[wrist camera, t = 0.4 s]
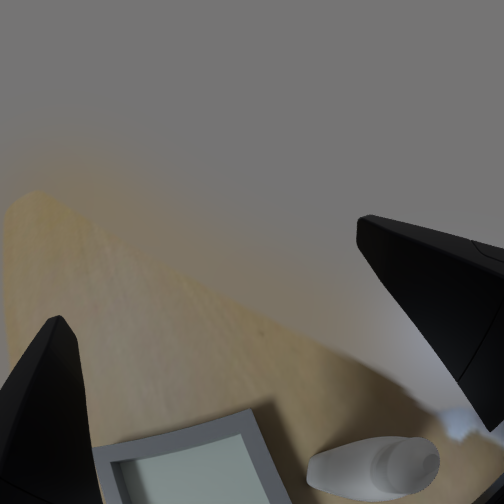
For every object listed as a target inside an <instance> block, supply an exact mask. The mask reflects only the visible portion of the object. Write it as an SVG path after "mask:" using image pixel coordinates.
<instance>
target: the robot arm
mask: <svg viewBox="0 0 504 504" xmlns="http://www.w3.org/2000/svg"><path fill="white" fill-rule="evenodd" d="M356 242H357V246H358V248H359V250H360V251H361V253H362V254H363V256H364V257H365V259H366V260H367V262H368V263H369V264H370V266H371V268H372V269H373V271H374V272H375V273H376V275H377V276H378V278H379V279H380V281H381V282H382V283H383V285H384V286H385V288H386V289H387V290H388V291H389V293H390V294H391V295H392V296H393V298H394V299H395V300H396V301H397V303H398V304H399V305H400V306H401V308H402V309H403V310H404V312H405V313H406V314H407V315H408V317H409V318H410V319H411V321H412V322H413V323H414V324H415V326H416V327H417V328H418V330H419V331H420V332H421V334H422V335H423V336H424V338H425V339H426V340H427V342H428V343H429V344H430V346H431V347H432V348H433V349H434V351H435V352H436V354H437V355H438V357H439V358H440V359H441V361H442V362H443V364H444V365H445V366H446V368H447V369H448V371H449V372H450V373H451V375H452V376H453V378H454V379H455V381H456V382H458V383H457V384H458V385H459V387H460V388H461V389H462V391H463V392H464V394H465V396H466V397H467V399H468V400H469V402H470V403H471V405H472V406H473V408H474V409H475V411H476V412H477V414H478V415H479V417H480V419H481V420H482V422H483V423H484V425H485V427H486V428H487V429H488V431H489V432H491V431H493V430H494V429H495V428H496V427H497V426H498V425H499V424H500V423H501V422H502V421H503V420H504V249H503V248H499V247H495V246H491V245H488V244H484V243H481V242H477V241H473V240H471V241H470V240H469V239H466V238H463V237H459V236H455V235H452V234H448V233H444V232H440V231H436V230H433V229H429V228H425V227H421V226H417V225H413V224H409V223H405V222H400V221H396V220H392V219H388V218H383V217H379V216H375V215H366V216H363V217H360V218H359V219H358V221H357V236H356ZM0 504H103V502H102V498H101V493H100V489H99V484H98V479H97V474H96V469H95V464H94V458H93V452H92V446H91V439H90V432H89V424H88V415H87V406H86V395H85V386H84V380H83V374H82V368H81V362H80V355H79V348H78V341H77V338H76V336H75V334H74V333H73V331H72V330H71V328H70V327H69V325H68V324H67V322H66V321H65V319H64V318H63V317H62V316H60V315H58V316H54V317H51V318H49V319H48V320H47V321H46V322H45V324H44V325H43V326H42V328H41V329H40V331H39V332H38V333H37V335H36V336H35V338H34V339H33V341H32V342H31V343H30V345H29V346H28V348H27V349H26V351H25V352H24V354H23V355H22V357H21V358H20V360H19V361H18V363H17V364H16V366H15V367H14V369H13V370H12V372H11V374H10V375H9V377H8V378H7V380H6V382H5V383H4V385H3V386H2V388H1V390H0ZM472 504H504V473H503V474H502V475H501V476H500V477H499V478H498V479H497V480H496V481H495V482H494V483H493V484H492V485H491V486H490V487H489V488H488V489H487V490H486V491H485V492H484V493H483V494H482V495H481V496H480V497H479V498H477V499H476V500H475V501H474V502H473V503H472Z"/></svg>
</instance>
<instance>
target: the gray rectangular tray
mask: <svg viewBox="0 0 504 504" xmlns="http://www.w3.org/2000/svg"><path fill="white" fill-rule="evenodd" d="M92 452H93V457H94V462H95V466H96V469H97V473H98V477H99V480H100V484H101V487H102V491H103V494H104V497H105V501H106V504H292V502H291V500H290V498H289V496H288V494H287V492H286V489H285V487H284V485H283V483H282V480H281V478H280V476H279V474H278V472H277V469H276V467H275V465H274V462H273V460H272V458H271V456H270V453H269V451H268V449H267V446H266V444H265V441H264V439H263V437H262V434H261V432H260V430H259V427H258V425H257V422H256V420H255V417H254V415H253V413H252V410H251V408H250V409H247V410H244V411H241V412H238V413H235V414H232V415H229V416H226V417H223V418H219V419H216V420H213V421H210V422H206V423H203V424H199V425H196V426H192V427H188V428H185V429H181V430H177V431H173V432H169V433H165V434H161V435H157V436H152V437H148V438H143V439H138V440H133V441H128V442H123V443H118V444H112V445H106V446H100V447H94V448H92Z"/></svg>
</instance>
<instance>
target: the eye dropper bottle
mask: <svg viewBox="0 0 504 504" xmlns="http://www.w3.org/2000/svg"><path fill="white" fill-rule="evenodd" d="M439 457H440V456H439V453H438V450H437V448H436V446H434V444H433V443H432V442H430V441H429V440H428V439H425V438H423V437H422V438H421V437H413V438H412V437H411V438H408V437H400V436H383V437H374V438H368V439H364V440H360V441H356V442H352V443H349V444H346V445H343V446H340V447H337V448H334V449H331V450H328V451H324V452H321V453H318V454H316V455H314V456H312V457H311V458H310V460H309V464H308V470H307V483H308V484H309V485H310V486H311V487H313V488H316V489H318V490H321V491H324V492H327V493H330V494H334V495H337V496H340V497H344V498H348V499H353V500H359V501H368V502H377V501H388V500H393V499H397V498H401V497H404V496H406V495H409V494H413V493H414V494H415V493H418V492H419V491H421V490H424V488H426V487H427V486H429V484H431V482H432V481H433V479H435V476H436V474H437V473H438V470H439V465H440V458H439Z"/></svg>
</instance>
